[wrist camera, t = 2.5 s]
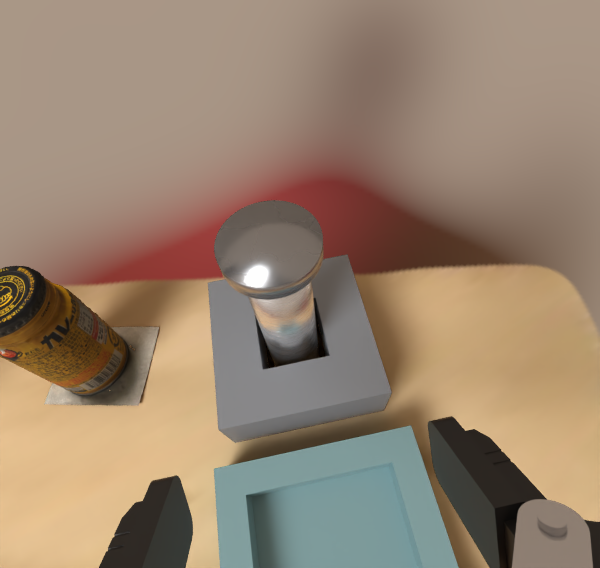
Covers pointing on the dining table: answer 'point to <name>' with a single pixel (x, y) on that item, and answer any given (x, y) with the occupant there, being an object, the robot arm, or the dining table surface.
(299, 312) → the steel pin
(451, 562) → the tray
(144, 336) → the condiment
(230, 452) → the dining table surface
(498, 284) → the dining table surface
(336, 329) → the socket block
